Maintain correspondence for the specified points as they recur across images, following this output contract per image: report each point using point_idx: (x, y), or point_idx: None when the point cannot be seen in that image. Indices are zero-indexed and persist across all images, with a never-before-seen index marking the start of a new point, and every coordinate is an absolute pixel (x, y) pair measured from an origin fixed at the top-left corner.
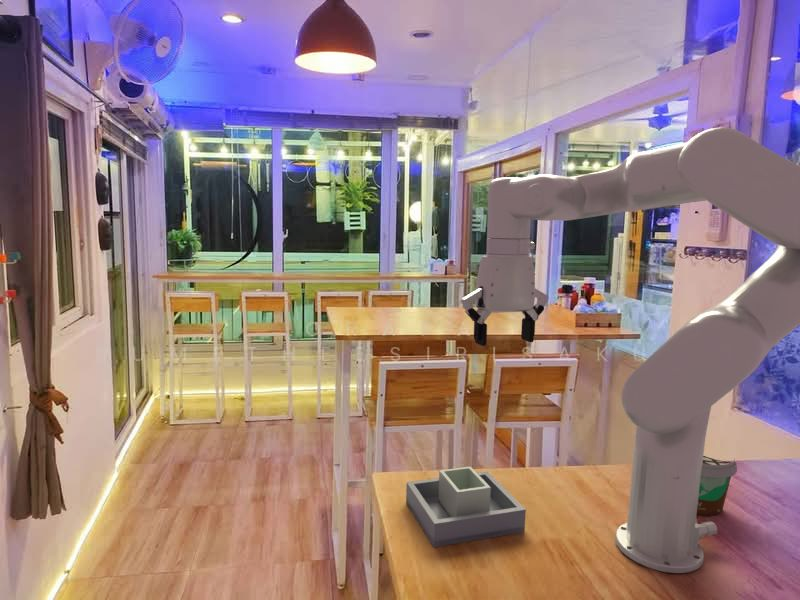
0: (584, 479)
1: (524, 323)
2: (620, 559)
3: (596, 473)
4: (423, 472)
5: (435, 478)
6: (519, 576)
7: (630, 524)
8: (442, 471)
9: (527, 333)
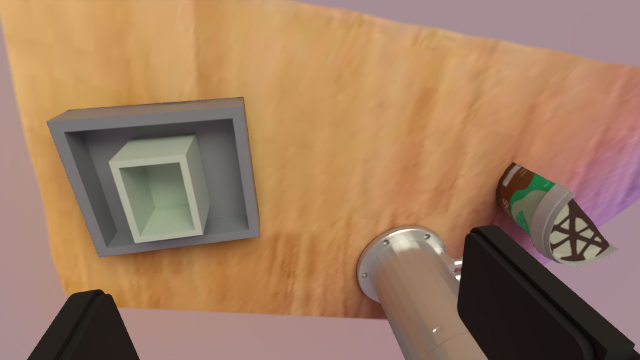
0: (441, 88)
1: (547, 353)
2: (347, 274)
3: (477, 71)
4: None
5: (117, 117)
6: (216, 290)
7: (378, 282)
8: (115, 167)
9: (487, 330)
